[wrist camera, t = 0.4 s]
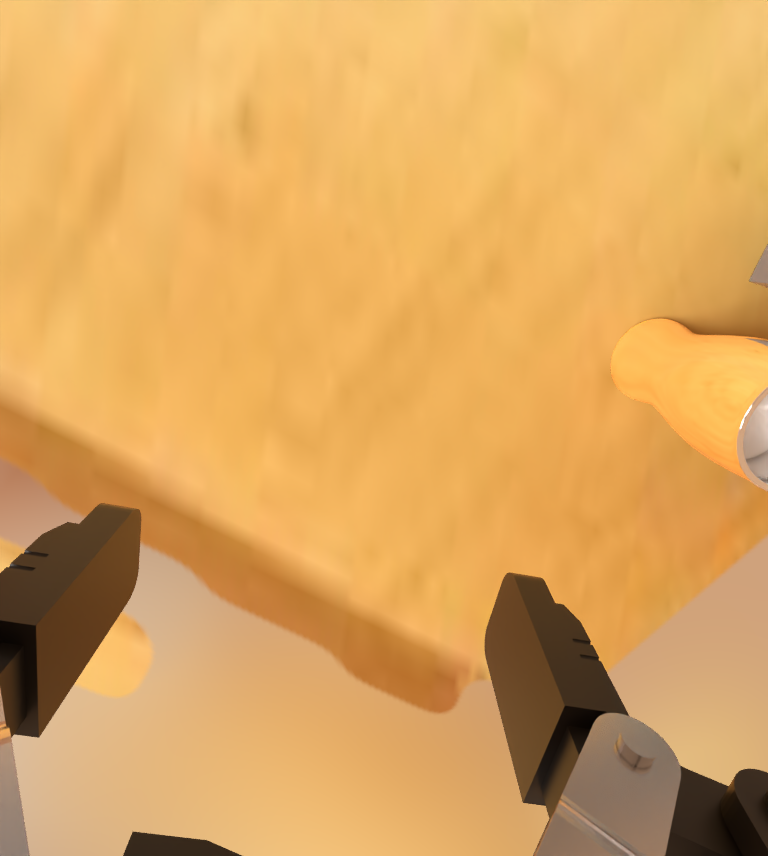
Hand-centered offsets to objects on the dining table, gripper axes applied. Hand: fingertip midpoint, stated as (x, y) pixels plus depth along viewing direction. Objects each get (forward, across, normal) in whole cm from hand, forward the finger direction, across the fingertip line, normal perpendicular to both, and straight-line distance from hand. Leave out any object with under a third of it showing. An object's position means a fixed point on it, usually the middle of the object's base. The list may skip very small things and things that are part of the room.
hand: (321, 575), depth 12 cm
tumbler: (+28, -21, -2) cm, 35 cm away
